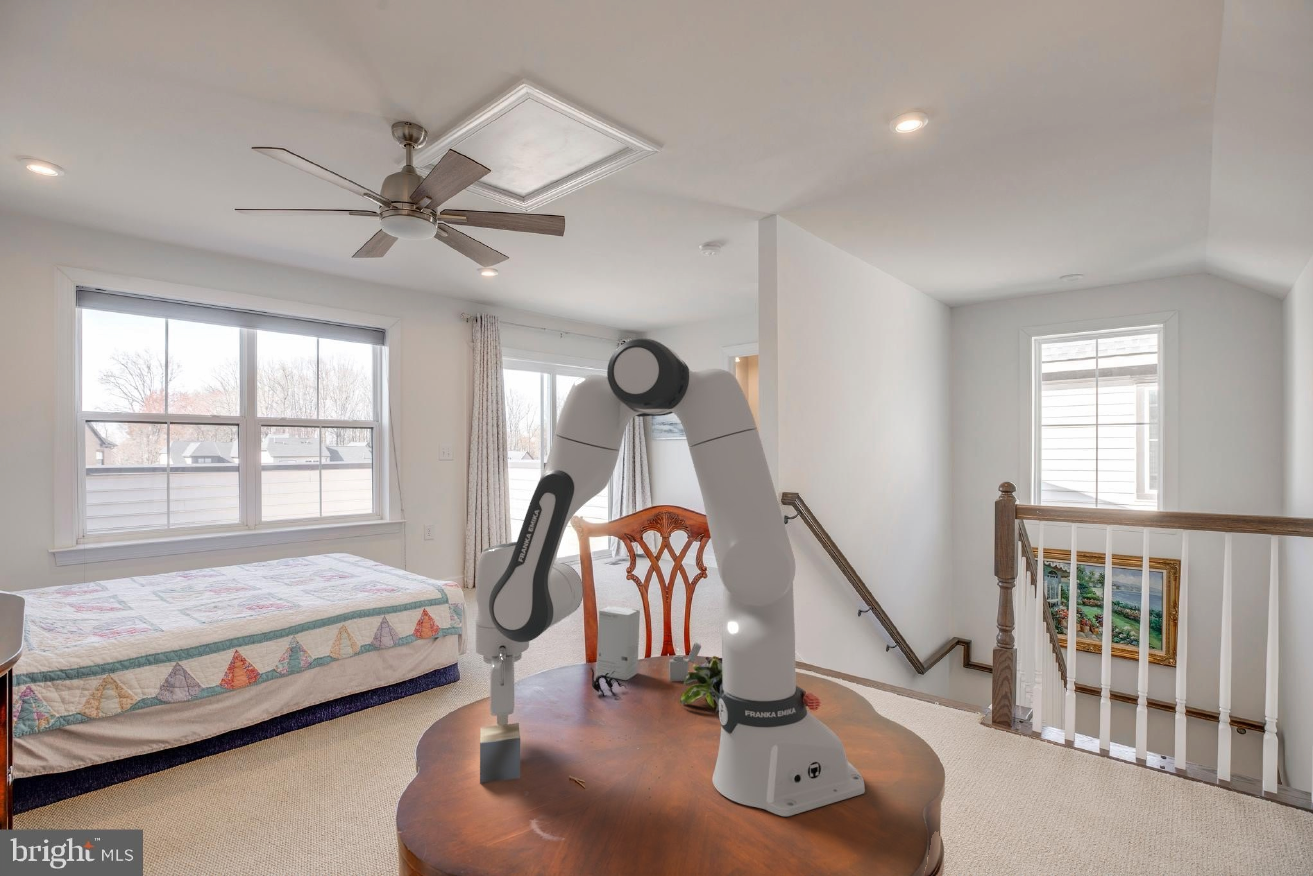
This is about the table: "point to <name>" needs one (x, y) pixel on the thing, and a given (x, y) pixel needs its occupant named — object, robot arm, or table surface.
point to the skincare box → (618, 642)
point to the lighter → (682, 664)
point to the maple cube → (499, 752)
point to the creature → (597, 685)
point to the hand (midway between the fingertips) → (502, 721)
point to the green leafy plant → (704, 682)
